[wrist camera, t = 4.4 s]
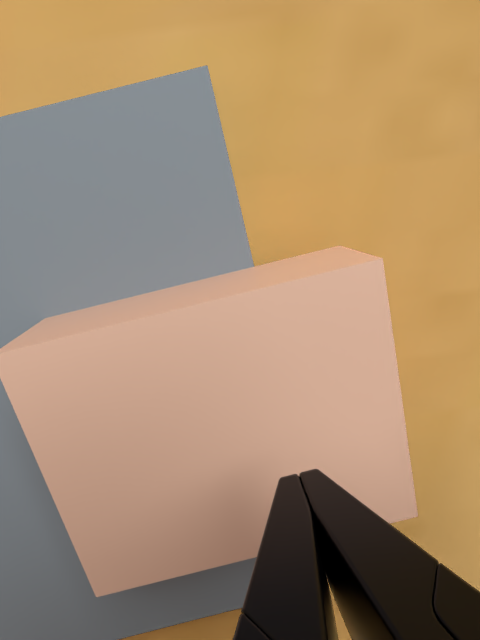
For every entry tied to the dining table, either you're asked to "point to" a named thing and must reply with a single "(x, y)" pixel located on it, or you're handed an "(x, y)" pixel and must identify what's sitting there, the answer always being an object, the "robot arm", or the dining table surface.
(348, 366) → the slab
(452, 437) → the dining table surface
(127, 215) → the mat
